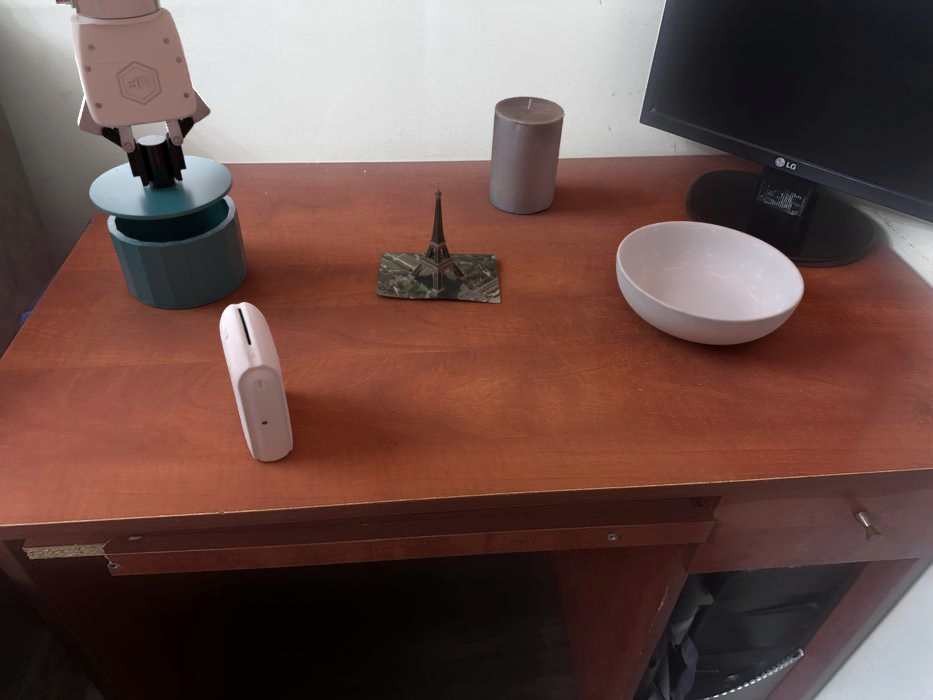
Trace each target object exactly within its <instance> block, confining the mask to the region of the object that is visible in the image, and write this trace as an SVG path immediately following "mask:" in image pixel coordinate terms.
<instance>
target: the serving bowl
mask: <svg viewBox="0 0 933 700" xmlns="http://www.w3.org/2000/svg"><path fill="white" fill-rule="evenodd" d="M615 261H616V262H615V271H616V279H617V282H618V287H619V289H620V291H621V294H622V297H624V299H625V300H626V302H627V304H628V305H629V306H630V308H631V309H632V310H633V311H634V312H635V314H637V315H638V316H639V317H640V318H641V319H642V320H644V321H646V323H648V324H650V325H651V326H653V327H654V328H656V329H658V330H660V331H662V332H664V333H665V334H668V335H670V336H673V337H675V338H678V339H682V340H683V341H684V340H685V341H689V342H693V343H698V344H705V345H715V346H717V345H718V346H727V345H728V346H729V345H738V344H743V343H749V342H751V341H755V340H757V339H760V338H763V337H765V336H767V335H769V334H771V333H772V332H774V331H775V330H777V329H778V328H780V327H781V326H782V325H784V323H785V322H786V321H787V320H788V319H789V318H790V317H791V316H792V315H793V313H795V311H796V309H797V308H798V306H799V304H800V303H801V301H802V300H803V296H804V292H805V282H804V279H803V275H802V274H801V271H800V270H799V268H798V267H797V266H796V265H795V263H794V262H793V261H792V260H791V259H790V258H788V256H786V255H785V254H784V253H783V252H781V250H779V249H777V248H776V247H774V246H773V245H771V244H769V243H768V242H765V241H764V240H761V239H759V238H757V237H755V236H753V235H750V234H748V233H745V232H743V231H739V230H736V229H732V228H729V227H726V226H722V225H718V224H712V223H706V222H699V221H687V220H686V221H683V220H682V221H679V220H678V221H677V220H676V221H675V220H673V221H662V222H657V223H652V224H648V225H645V226H642V227H639V228H637V229H635V230H633V231H632V232H630V233H629V234H628V235H626V236H624V238H623V239H622V241H621V242H620V244H619V245H618V247H617V251H616V259H615Z"/></svg>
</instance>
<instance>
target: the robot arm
mask: <svg viewBox="0 0 933 700" xmlns="http://www.w3.org/2000/svg"><path fill="white" fill-rule="evenodd" d="M55 3H56V5H65V6H66V7H68V6H70V7H71V9H75V12H74V13H73V14H71V15H70V19H69V25H70V34H71V42H72V47H73V53H74V58H75V62H76V66H77V71H78V74H79V79H80V83H81V87H82V90H83V97H82V98H83V99H82V102H81V106H80V110H79V115H78V118H77V125H78V128H79V130H80V131H82V132H85V133H87V134H91V135H95V136H98V137H99V136H100V137H103V138H104V139H106V140H108V141H110V142H112V143H113V144H114V145H116V146H118V147H120V148H121V149H122V150H123V152H125V153H126V156H127V160H128V163H129V164H130V167H131V171H132V175H133V177H139V176H140V178H141V181H142V184H143V187H145V186H148V185H149V184H150V183H149V179H148V176H147V172H146V168H145V164H144V160H143V156H142V153H141V150H140V148H139V145H138V142H137V140H136V138H135V137H134V135H133V128H132V127H133V126H140V125H147V124H154V123H155V124H157V123H163V122H164V125H165V128H166V130H167V132H166V133H165V139H166V143H167V147H168V152H169V156H170V160H171V164H172V168H173V173H174V177H175V179H176V180H178V181H182V180H183V178H182V174H181V170H184V169H186V164H185V159H184V156H185V155H184V150H183V147H182V145H183V144H184V139H185V138H186V137H187V136H188V134H189V133H190V132H191V130H192V129H193V128H194V126H195V125H196V124H197V123H200V122H201V121H203V119H205V118H207V117H209V115H210V114H211V108H210V107H209V105H208V104H207V102H206V101H205V100H204V98H203V97H202V96H201V94H200V93H199V92H198V91H197V89H196V88H195V87H194V85H193V81H192V80H193V79H192V76H191V73H190V68H189V64H188V61H187V56H186V54H185V50H184V49H185V48H184V47H183V46H184V45H183V43H182V40H181V37H180V33H179V31H178V28H177V26H176V25H177V24H176V22H175V20H174V17H173V16H172V13H171V12H170V11H169V10H168V9H166V8H164V7H163V6H161V0H55Z"/></svg>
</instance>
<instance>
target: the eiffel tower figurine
mask: <svg viewBox="0 0 933 700" xmlns="http://www.w3.org/2000/svg"><path fill="white" fill-rule="evenodd" d="M434 196H435V207H434V216H433V217H434V218H433V226H432V235H431V239H430V240H429V245H428V247H427V250H426V252H381V258H380V263H379V264H380V265H379V271H378V279H377V287H376V288H377V289H376V293H375V295H376V296H382V297H383V296H384V297H392V298H401V299H402V298H403V299H435V300H439V299H447V300H448V299H450V300H462V301H463V300H464V301H473V302H483V303H490V304H491V303H492V304H502V301H501V292H500V291H501V290H500V282H499V276H498V268H497V258H496V254H491V253H490V254H489V253H488V254H487V253H452V252H451V253H450V252H449V249H448V246H447V240H446V239H445V234H444V233H445V232H444V225H443V212H442V210H443V209H442V196H443V194H442V191H441V190H440V182H437V190H436V191H435V193H434Z"/></svg>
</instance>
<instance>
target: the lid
mask: <svg viewBox="0 0 933 700" xmlns="http://www.w3.org/2000/svg"><path fill="white" fill-rule="evenodd" d="M137 143H138V145H139V148H140V150H141V153H142V156H143V160H144V164H145V168H146V172H147V176H148V179H149V183H150V184H149V185H148V186H145V187H143V184H142V181H141V178H140V176H139V177H133V175H132V171H131V167H130V164H129V162H126V163H123V164H120V165H118V166H115V167H113V168H111V169H109V170H107V171H105V172H104V173H102V174H101V175H99V176H98V177H96V178H95V180H94V181H93V182H92V184H91V185H90V187H89V192H88V193H89V198H90V199H89V200H90V201H91V203H92V205H93V206H94V208H96V209H97V210H99V211H101V212H102V213H104V214H107V215H109V216H110V215H112V216H116V217H120V218H125V219H135V220H156V219H166V218H173V217H178V216H183V215H187V214H191V213H194V212H197V211H200V210H203V209H205V208H207V207H210V206H212V205H213V204H215V203H217V202H218V201H220V200H221V199H223V198H224V197H225V196H226V195H227V196H228V195H229V193H230V191H231V190H232V188H233V185H234V179H233V175H232V173H231V170H229V169H228V168H227V167H226V165H223V164H222V163H221V162H218V161H216V160H214V159H211V158H206V157H201V156H196V155H195V156H194V155H184V159H185V164H186V169H184V170H181V174H182V178H183V180H182V181H178V180H176V179H175V177H174V173H173V168H172V164H171V160H170V156H169V152H168V147H167V143H166V136H163V135H160V134H159V135H158V134H156V135H155V134H150V135H146V136H145V135H144V136H143V137H140V138H139V139H137Z"/></svg>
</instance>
